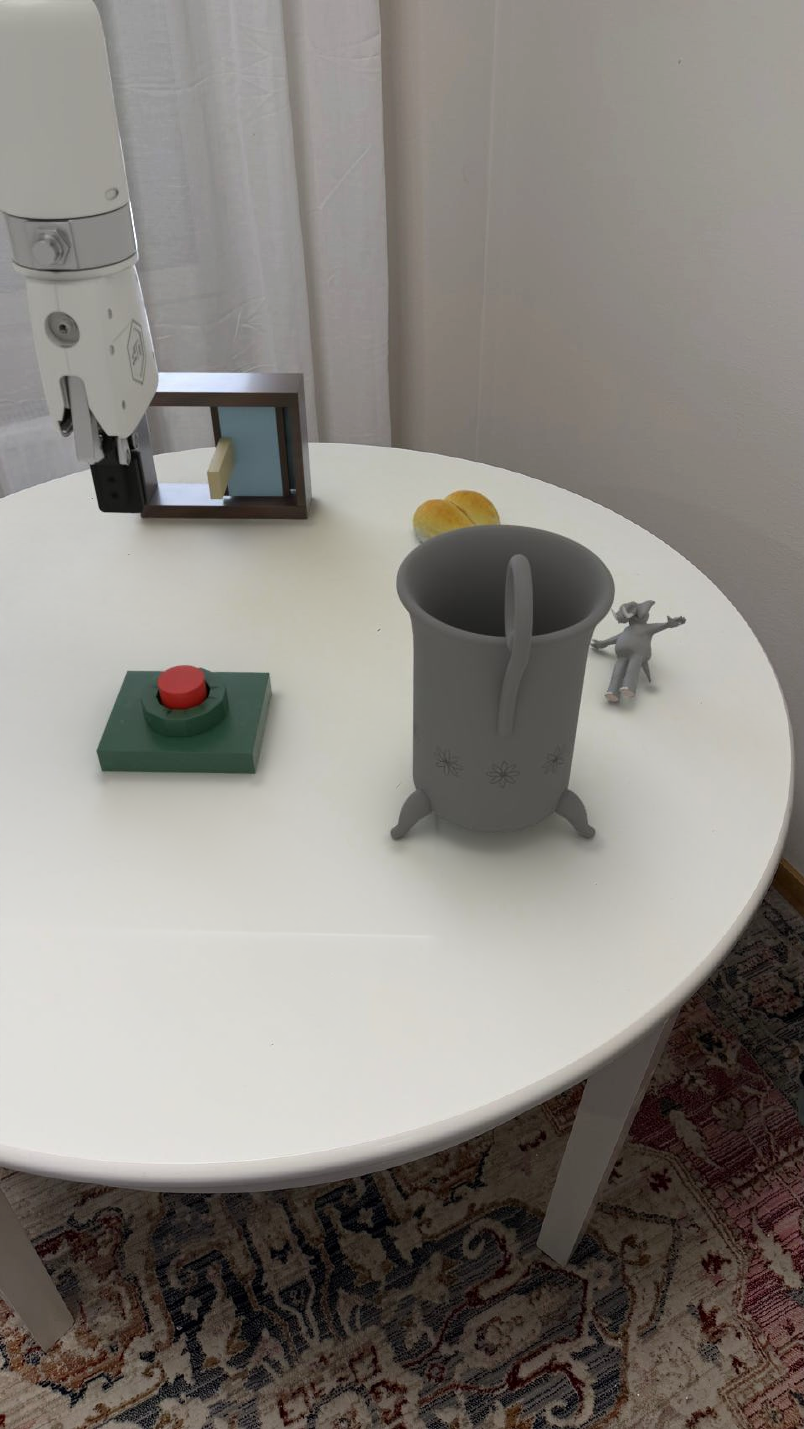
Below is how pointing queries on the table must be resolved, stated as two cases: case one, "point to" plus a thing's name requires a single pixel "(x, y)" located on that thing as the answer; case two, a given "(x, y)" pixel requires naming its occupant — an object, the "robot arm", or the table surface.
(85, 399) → the robot arm
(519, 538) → the mug
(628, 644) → the elephant figurine
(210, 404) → the window frame
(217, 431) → the window pane
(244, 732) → the button box
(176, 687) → the button
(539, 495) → the table surface
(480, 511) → the bread roll
